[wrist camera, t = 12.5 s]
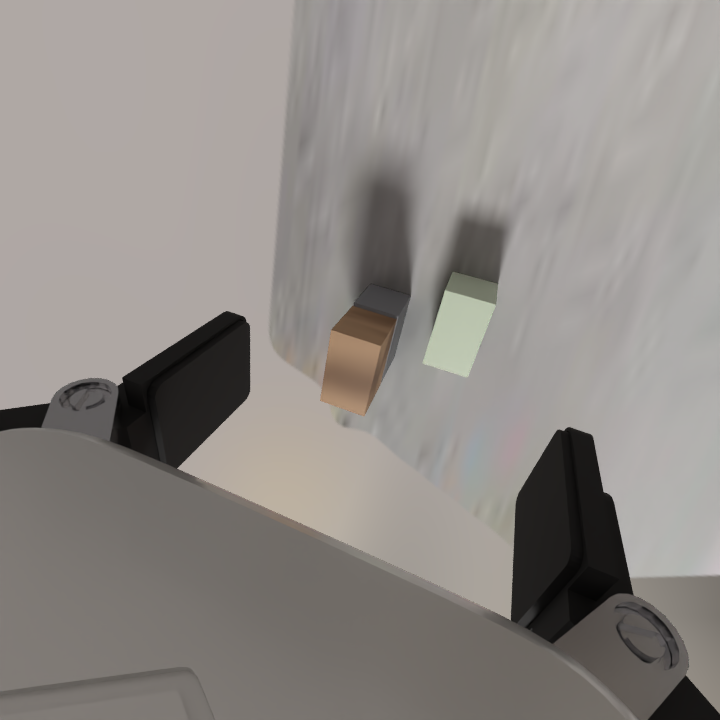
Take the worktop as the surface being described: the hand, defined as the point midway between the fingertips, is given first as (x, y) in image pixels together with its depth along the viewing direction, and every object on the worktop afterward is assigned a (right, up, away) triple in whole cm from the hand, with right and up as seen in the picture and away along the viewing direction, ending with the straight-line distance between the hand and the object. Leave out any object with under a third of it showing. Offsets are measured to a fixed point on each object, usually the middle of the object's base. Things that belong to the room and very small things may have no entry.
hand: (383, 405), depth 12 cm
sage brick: (+9, +6, +25) cm, 27 cm away
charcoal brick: (+2, +5, +28) cm, 29 cm away
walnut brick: (0, +3, +24) cm, 24 cm away
